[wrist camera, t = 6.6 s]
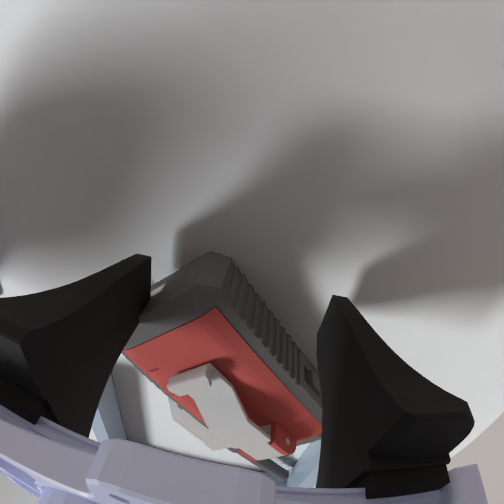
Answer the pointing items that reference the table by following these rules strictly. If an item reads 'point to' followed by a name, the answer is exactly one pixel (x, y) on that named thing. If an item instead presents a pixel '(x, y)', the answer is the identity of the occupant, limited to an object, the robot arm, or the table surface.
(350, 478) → the robot arm
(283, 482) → the grey pronged cradle
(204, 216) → the table surface
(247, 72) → the table surface
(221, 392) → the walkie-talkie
